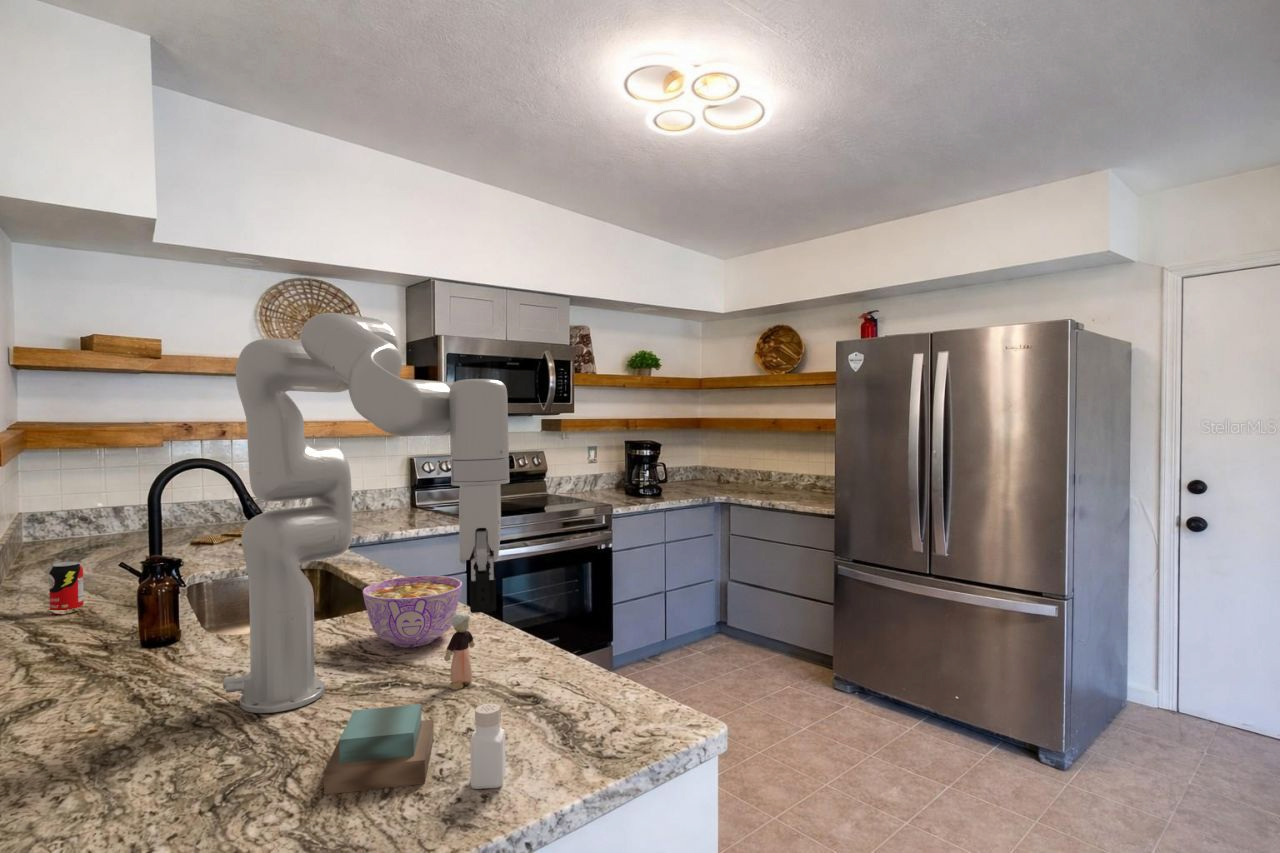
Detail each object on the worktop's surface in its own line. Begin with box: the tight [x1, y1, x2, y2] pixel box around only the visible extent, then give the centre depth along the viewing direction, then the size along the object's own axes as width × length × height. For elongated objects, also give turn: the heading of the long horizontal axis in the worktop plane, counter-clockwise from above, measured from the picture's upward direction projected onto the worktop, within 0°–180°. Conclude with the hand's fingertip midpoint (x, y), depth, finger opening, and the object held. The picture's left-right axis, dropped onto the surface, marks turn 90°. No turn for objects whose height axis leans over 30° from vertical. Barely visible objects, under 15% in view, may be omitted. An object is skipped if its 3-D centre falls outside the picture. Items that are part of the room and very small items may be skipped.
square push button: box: [323, 703, 434, 795], centre depth 91 cm, size 12×12×6 cm
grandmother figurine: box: [443, 611, 476, 690], centre depth 119 cm, size 8×4×13 cm, turn 168°
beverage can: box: [48, 560, 84, 611], centre depth 166 cm, size 6×6×12 cm
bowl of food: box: [362, 575, 463, 648], centre depth 143 cm, size 20×20×12 cm
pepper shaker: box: [469, 702, 506, 790], centre depth 87 cm, size 4×4×10 cm
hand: (483, 602), depth 90 cm, fingers open, 9 cm apart
